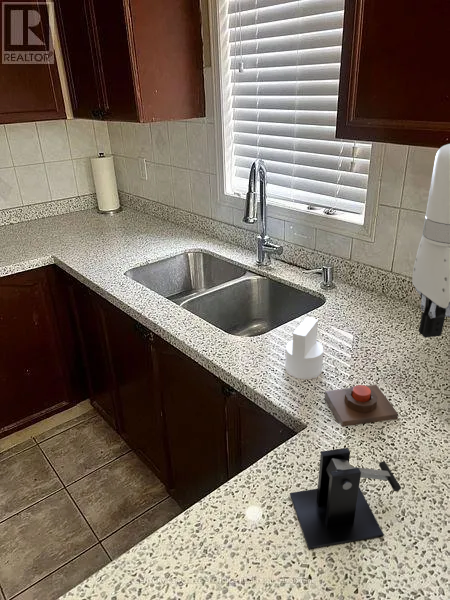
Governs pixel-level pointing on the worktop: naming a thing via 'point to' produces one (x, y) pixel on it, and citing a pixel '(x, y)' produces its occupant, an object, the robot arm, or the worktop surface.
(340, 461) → the lever
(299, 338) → the base with upright slab
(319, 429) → the worktop surface
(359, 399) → the button
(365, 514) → the black lever stand
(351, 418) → the control block
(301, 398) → the worktop surface
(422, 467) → the worktop surface
